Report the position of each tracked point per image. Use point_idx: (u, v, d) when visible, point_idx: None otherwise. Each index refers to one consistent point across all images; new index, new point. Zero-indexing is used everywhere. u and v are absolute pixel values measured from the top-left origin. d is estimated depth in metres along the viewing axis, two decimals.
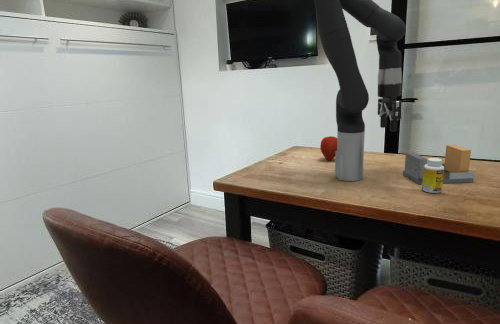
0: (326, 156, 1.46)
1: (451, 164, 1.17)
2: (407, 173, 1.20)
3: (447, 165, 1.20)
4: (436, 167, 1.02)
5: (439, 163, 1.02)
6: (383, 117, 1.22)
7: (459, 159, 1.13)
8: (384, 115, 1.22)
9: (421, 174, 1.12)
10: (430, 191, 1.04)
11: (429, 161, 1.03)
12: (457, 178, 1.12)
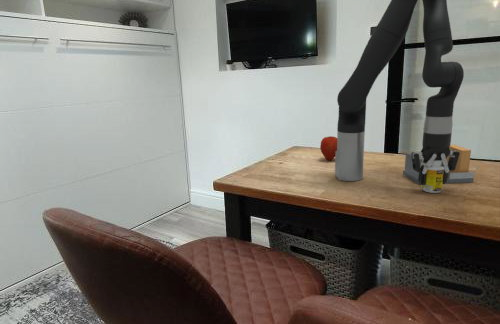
0: (326, 156, 1.46)
1: None
2: (407, 173, 1.20)
3: None
4: (436, 167, 1.02)
5: (439, 163, 1.02)
6: None
7: (459, 159, 1.13)
8: None
9: None
10: (430, 191, 1.04)
11: None
12: (457, 178, 1.12)
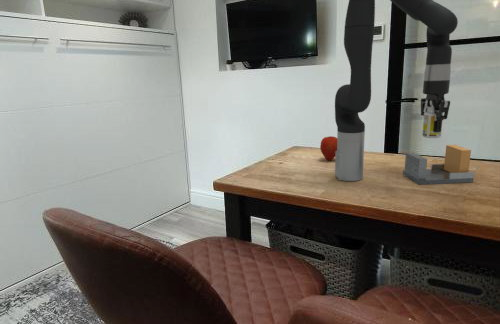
0: (326, 156, 1.46)
1: (451, 164, 1.17)
2: (407, 173, 1.20)
3: (447, 165, 1.20)
4: None
5: None
6: None
7: (459, 159, 1.13)
8: None
9: (421, 174, 1.12)
10: (440, 135, 1.13)
11: None
12: (457, 178, 1.12)
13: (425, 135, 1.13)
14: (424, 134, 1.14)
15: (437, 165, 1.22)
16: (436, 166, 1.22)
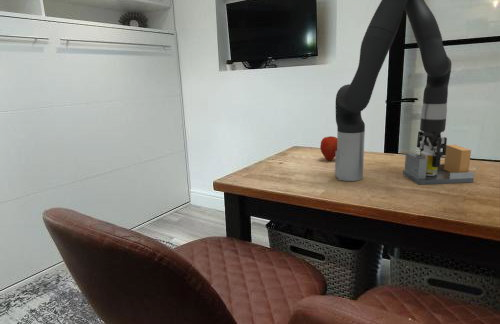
0: (326, 156, 1.46)
1: (451, 164, 1.17)
2: (407, 173, 1.20)
3: (447, 165, 1.20)
4: None
5: None
6: None
7: (459, 159, 1.13)
8: None
9: (421, 174, 1.12)
10: (436, 173, 1.16)
11: None
12: (457, 178, 1.12)
13: None
14: None
15: None
16: None
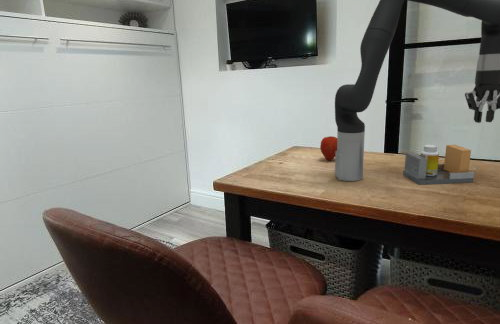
0: (326, 156, 1.46)
1: (451, 164, 1.17)
2: (407, 173, 1.20)
3: (447, 165, 1.20)
4: (437, 151, 1.15)
5: None
6: None
7: (459, 159, 1.13)
8: None
9: (421, 174, 1.12)
10: (436, 173, 1.16)
11: (435, 148, 1.13)
12: (457, 178, 1.12)
13: None
14: None
15: None
16: None
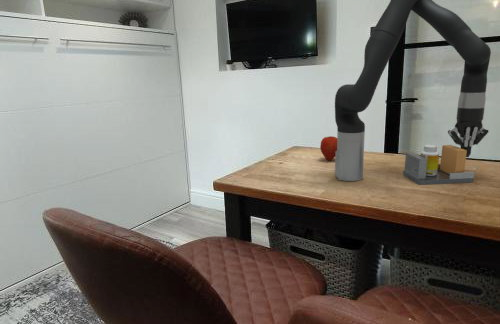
0: (326, 156, 1.46)
1: (447, 164, 1.17)
2: (407, 173, 1.20)
3: (443, 165, 1.20)
4: (437, 151, 1.15)
5: None
6: None
7: (455, 159, 1.13)
8: None
9: (421, 174, 1.12)
10: (436, 173, 1.16)
11: (435, 148, 1.13)
12: (457, 178, 1.12)
13: None
14: None
15: None
16: None
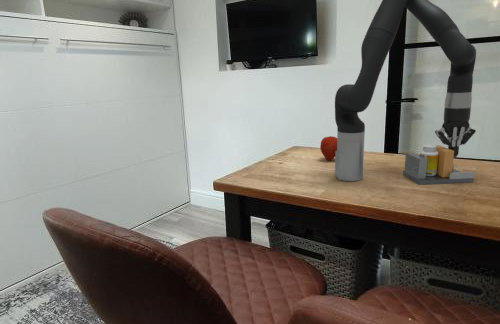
0: (326, 156, 1.46)
1: None
2: (407, 173, 1.20)
3: None
4: (436, 151, 1.15)
5: None
6: None
7: (442, 159, 1.13)
8: None
9: (421, 174, 1.12)
10: None
11: (434, 148, 1.13)
12: (457, 178, 1.12)
13: None
14: None
15: None
16: None
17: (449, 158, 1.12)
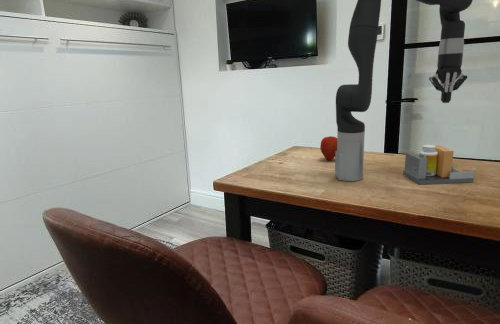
0: (326, 156, 1.46)
1: None
2: (407, 173, 1.20)
3: None
4: (435, 151, 1.15)
5: None
6: None
7: (442, 159, 1.13)
8: None
9: (421, 174, 1.12)
10: (435, 173, 1.16)
11: (433, 148, 1.13)
12: (457, 178, 1.12)
13: None
14: None
15: None
16: None
17: (448, 158, 1.12)
